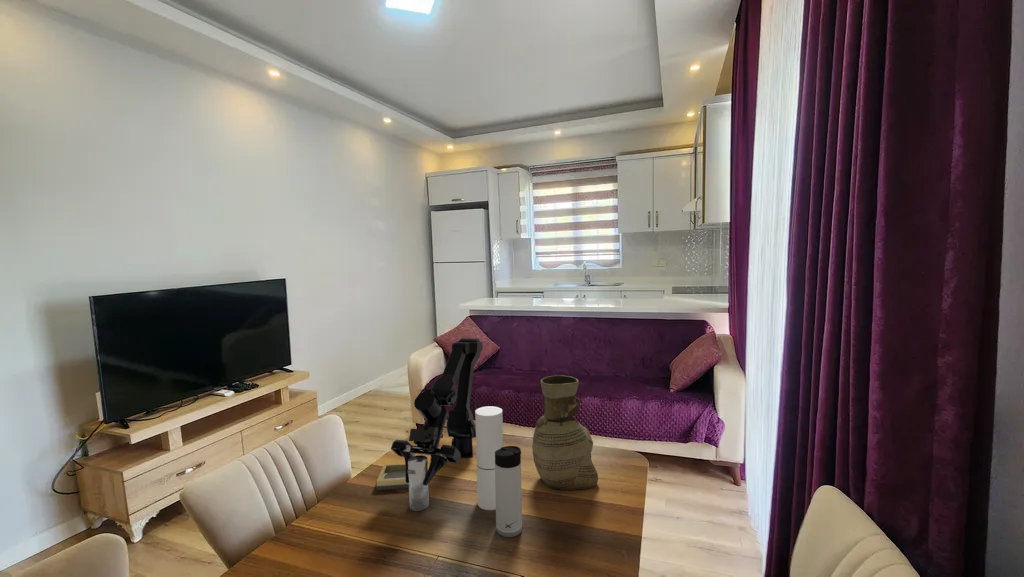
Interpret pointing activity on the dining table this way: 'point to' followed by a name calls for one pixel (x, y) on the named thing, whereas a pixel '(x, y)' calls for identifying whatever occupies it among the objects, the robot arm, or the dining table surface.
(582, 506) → the dining table surface
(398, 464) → the plate
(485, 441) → the cylindrical container
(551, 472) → the ceramic vessel
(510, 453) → the travel mug
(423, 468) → the spout can
